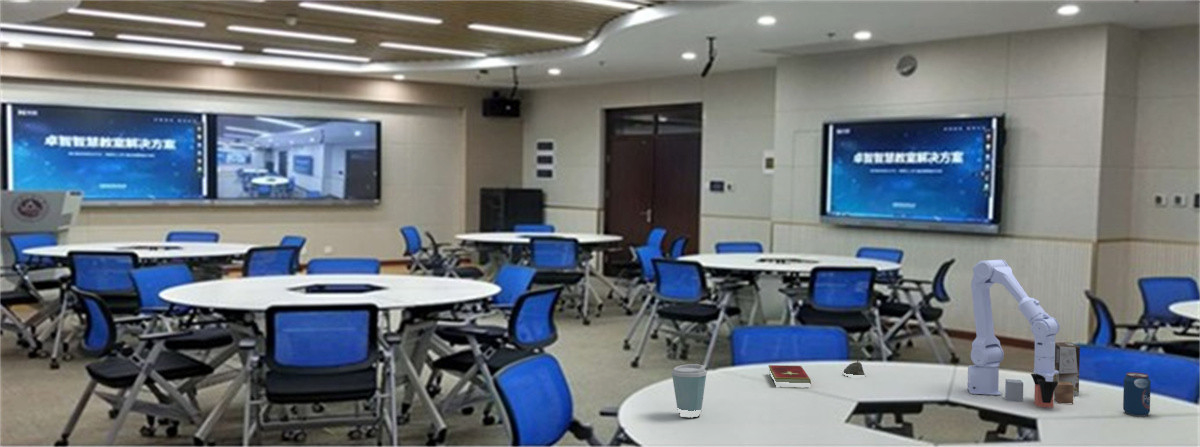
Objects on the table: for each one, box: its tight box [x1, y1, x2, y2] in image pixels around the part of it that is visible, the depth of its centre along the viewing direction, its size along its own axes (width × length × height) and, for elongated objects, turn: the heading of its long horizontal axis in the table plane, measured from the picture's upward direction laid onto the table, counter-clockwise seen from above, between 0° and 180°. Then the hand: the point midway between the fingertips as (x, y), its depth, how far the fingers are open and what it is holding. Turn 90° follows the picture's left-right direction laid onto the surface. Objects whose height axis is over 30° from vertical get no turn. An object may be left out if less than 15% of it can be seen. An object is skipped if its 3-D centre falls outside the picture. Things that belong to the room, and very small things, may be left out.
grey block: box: [1004, 378, 1024, 402], centre depth 292 cm, size 4×4×6 cm
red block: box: [1033, 383, 1054, 408], centre depth 284 cm, size 4×4×6 cm
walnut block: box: [1053, 382, 1074, 405], centre depth 288 cm, size 4×4×6 cm
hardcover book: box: [768, 364, 812, 385], centre depth 319 cm, size 12×21×4 cm, turn 176°
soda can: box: [1122, 371, 1151, 417], centre depth 273 cm, size 7×7×12 cm
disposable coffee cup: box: [671, 363, 708, 411], centre depth 273 cm, size 11×11×15 cm
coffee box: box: [1053, 341, 1081, 397], centre depth 301 cm, size 9×6×16 cm
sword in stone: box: [843, 345, 866, 376], centre depth 328 cm, size 10×8×12 cm
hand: (1043, 399), depth 284 cm, fingers open, 7 cm apart
